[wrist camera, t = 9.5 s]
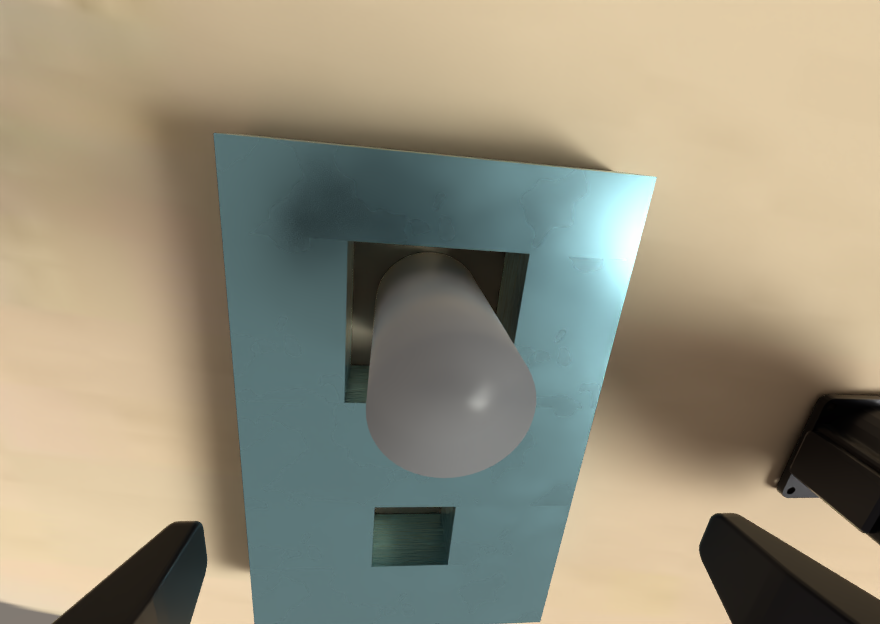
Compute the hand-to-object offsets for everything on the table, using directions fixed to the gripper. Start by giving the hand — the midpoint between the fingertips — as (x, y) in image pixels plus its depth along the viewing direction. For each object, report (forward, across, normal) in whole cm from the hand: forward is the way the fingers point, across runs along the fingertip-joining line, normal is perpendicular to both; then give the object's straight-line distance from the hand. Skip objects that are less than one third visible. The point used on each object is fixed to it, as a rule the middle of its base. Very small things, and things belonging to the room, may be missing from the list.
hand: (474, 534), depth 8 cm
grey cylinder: (+12, 0, 0) cm, 12 cm away
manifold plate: (+12, 0, +5) cm, 13 cm away
